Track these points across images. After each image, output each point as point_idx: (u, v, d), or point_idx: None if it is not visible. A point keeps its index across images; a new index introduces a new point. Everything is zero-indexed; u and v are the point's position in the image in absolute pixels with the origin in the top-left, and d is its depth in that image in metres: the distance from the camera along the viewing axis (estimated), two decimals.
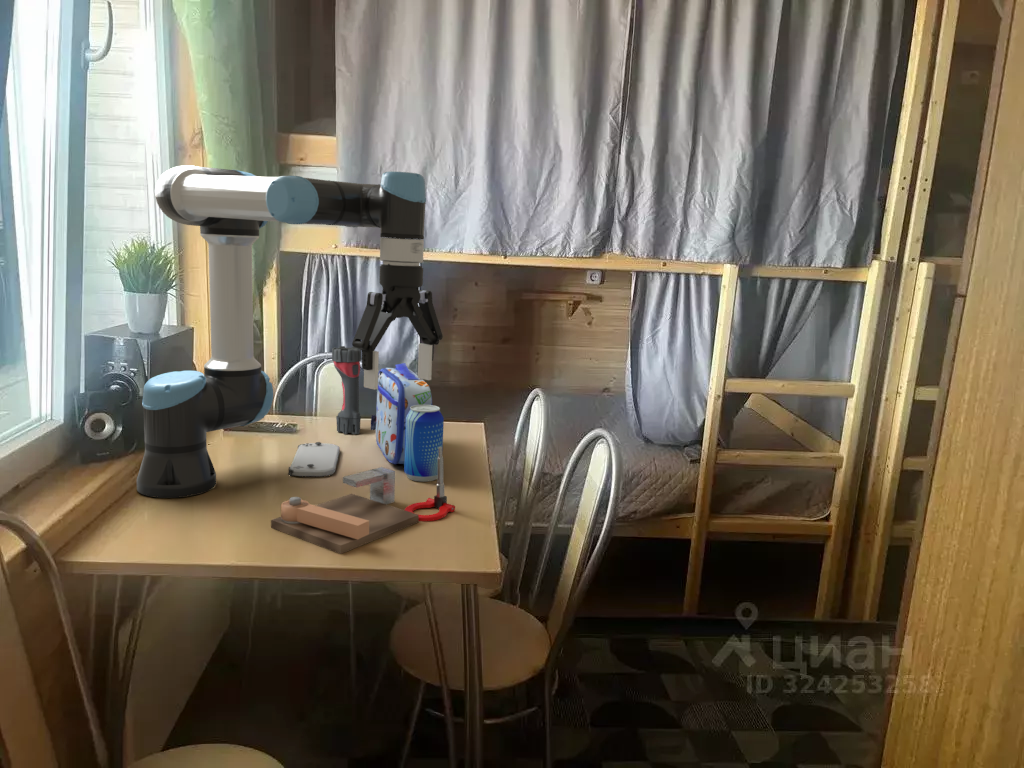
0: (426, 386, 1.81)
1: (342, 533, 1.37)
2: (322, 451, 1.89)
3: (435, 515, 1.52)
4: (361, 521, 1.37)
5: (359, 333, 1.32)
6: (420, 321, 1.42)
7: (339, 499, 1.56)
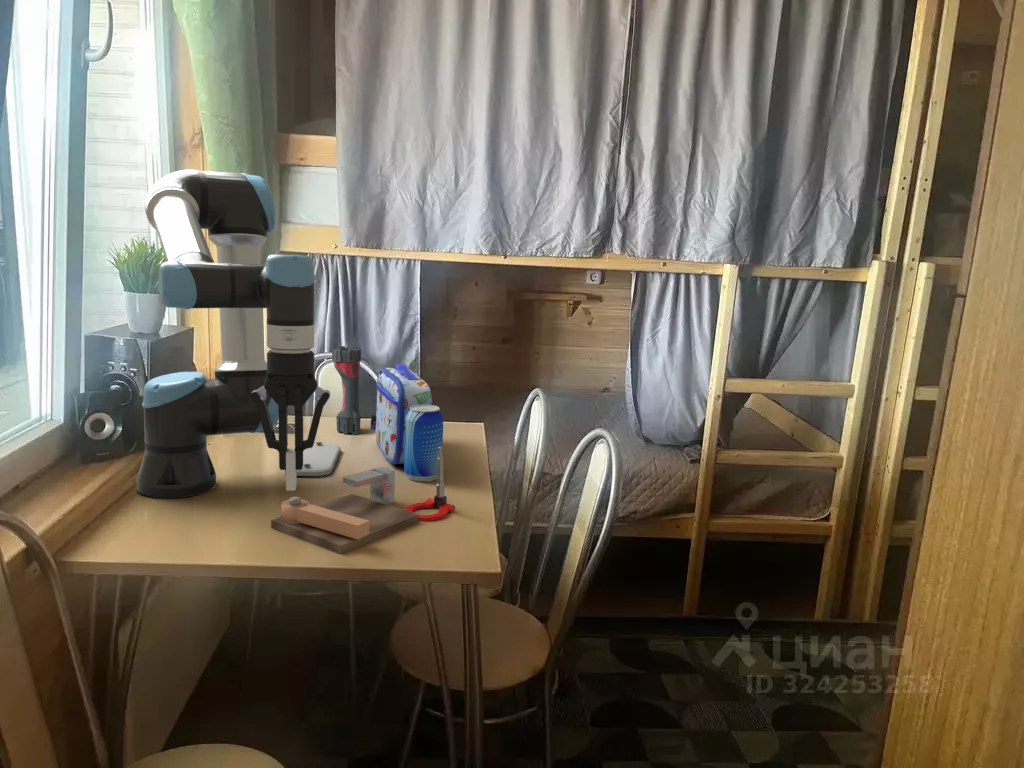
0: (426, 386, 1.81)
1: (342, 533, 1.37)
2: (322, 451, 1.88)
3: (435, 515, 1.52)
4: (361, 521, 1.37)
5: None
6: (296, 417, 1.30)
7: (339, 499, 1.56)
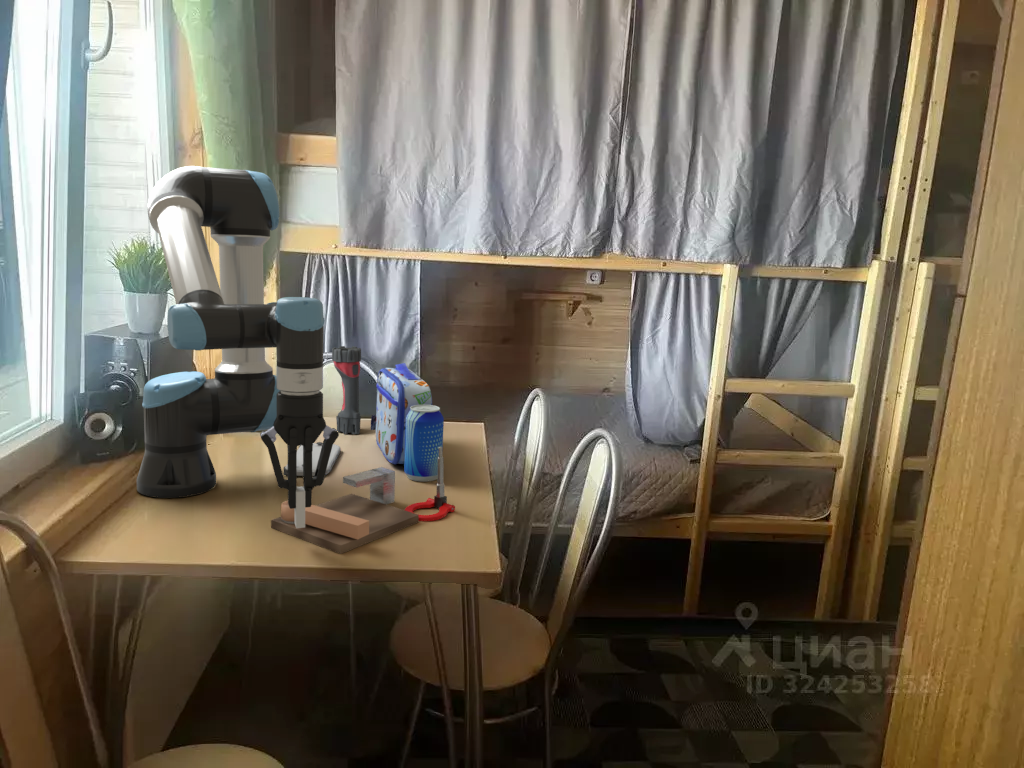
0: (426, 386, 1.81)
1: (342, 533, 1.37)
2: None
3: (435, 515, 1.52)
4: (361, 521, 1.37)
5: None
6: (306, 456, 1.33)
7: (339, 499, 1.56)
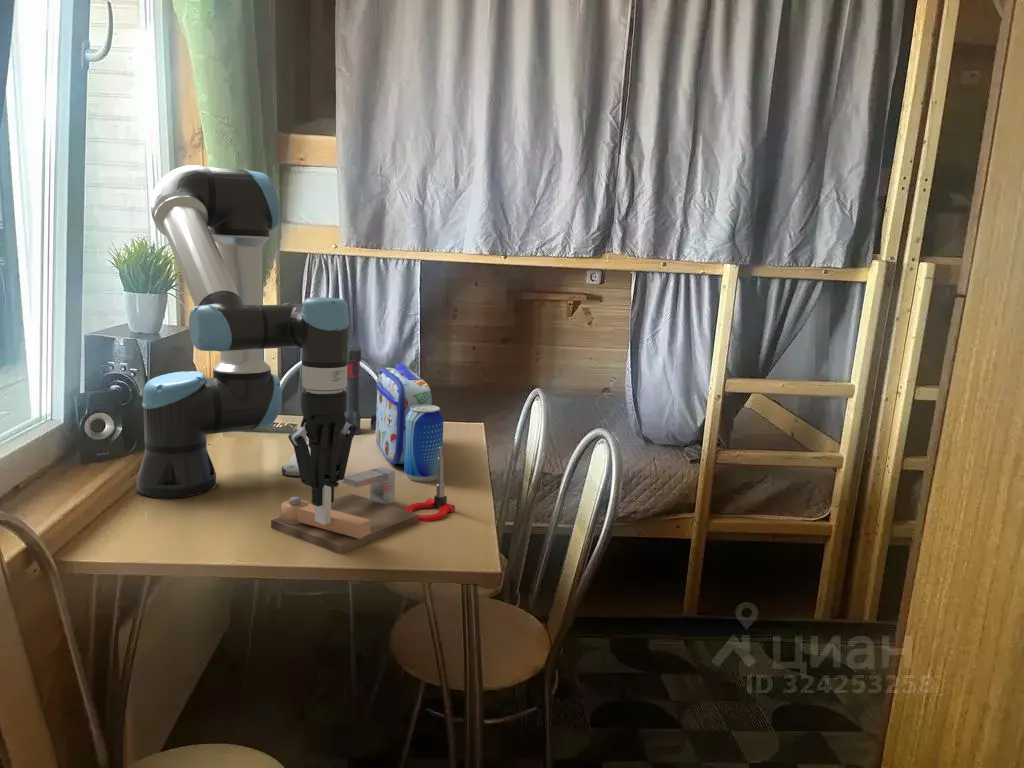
0: (426, 386, 1.81)
1: (343, 532, 1.37)
2: None
3: (435, 515, 1.52)
4: (362, 520, 1.37)
5: (302, 474, 1.33)
6: (332, 453, 1.36)
7: (339, 499, 1.56)
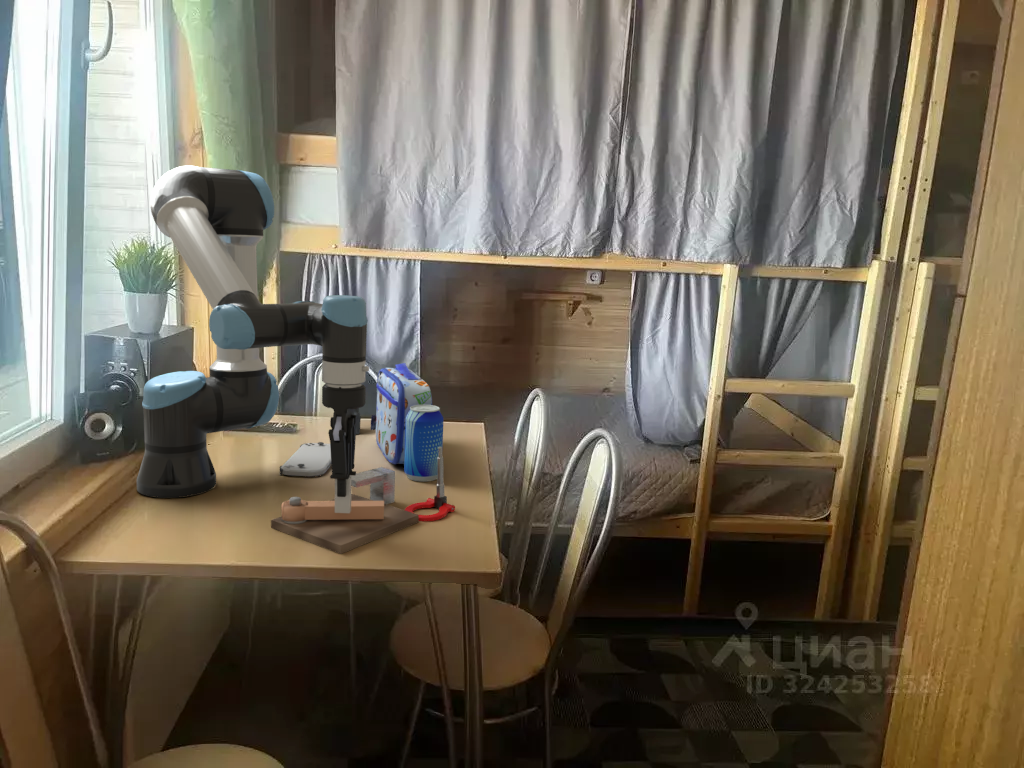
0: (426, 386, 1.81)
1: (365, 517, 1.45)
2: (322, 451, 1.88)
3: (435, 515, 1.52)
4: (379, 502, 1.47)
5: (336, 468, 1.37)
6: (351, 443, 1.42)
7: None
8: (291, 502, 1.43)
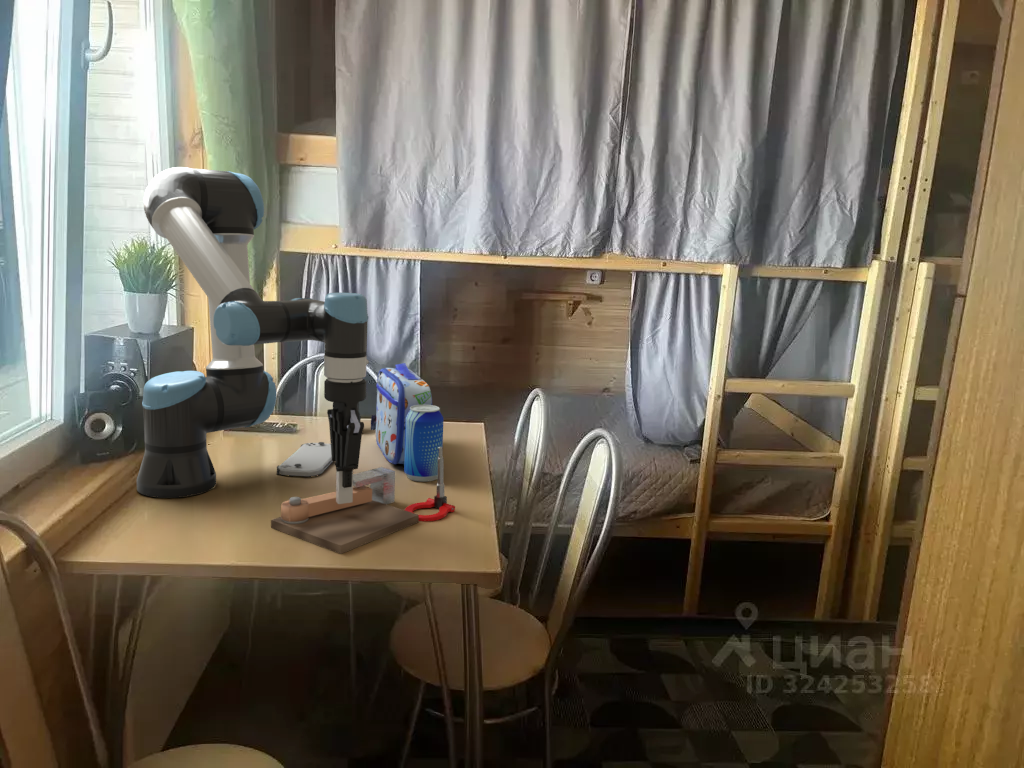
0: (426, 386, 1.81)
1: (357, 503, 1.52)
2: (321, 451, 1.88)
3: (435, 515, 1.52)
4: (363, 487, 1.55)
5: (350, 459, 1.43)
6: None
7: None
8: (294, 502, 1.43)
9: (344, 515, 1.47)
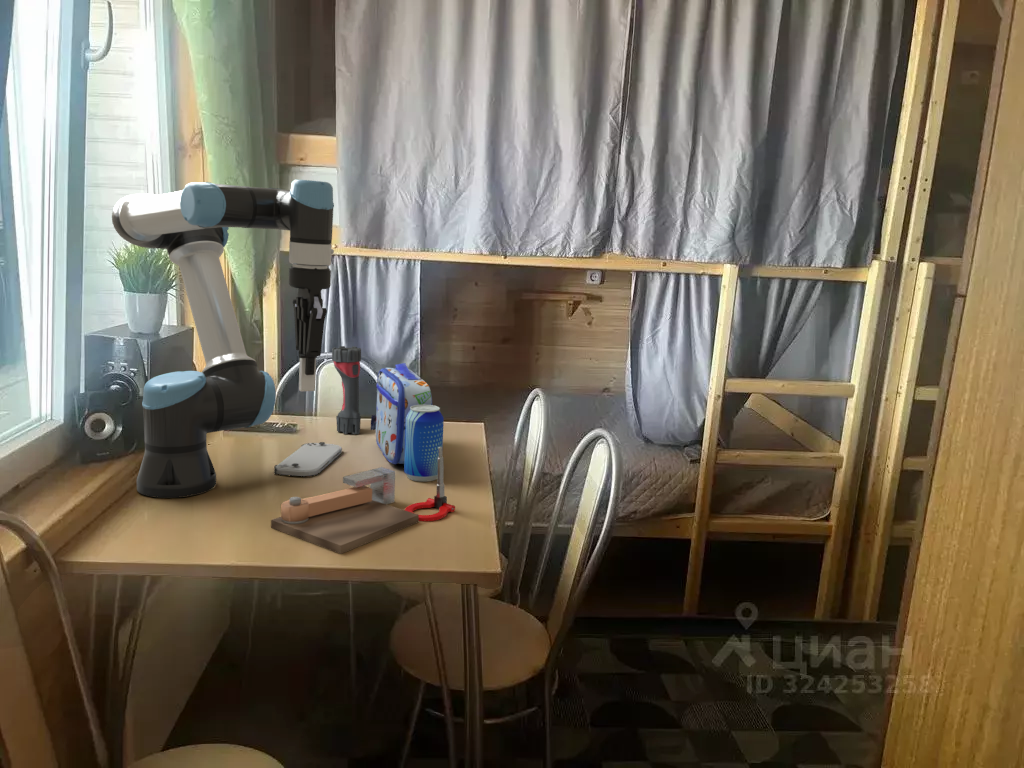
0: (426, 386, 1.81)
1: (357, 503, 1.52)
2: (321, 451, 1.88)
3: (435, 515, 1.52)
4: (363, 487, 1.55)
5: (313, 346, 1.45)
6: None
7: None
8: (294, 502, 1.43)
9: (344, 515, 1.47)
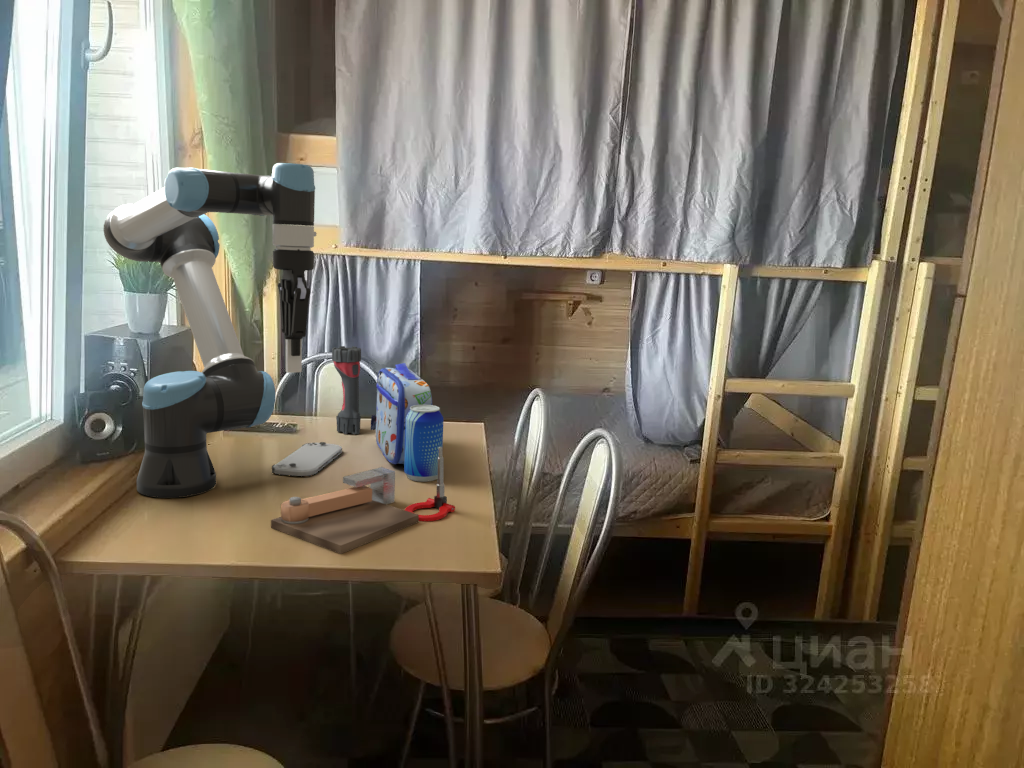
0: (426, 386, 1.81)
1: (357, 503, 1.52)
2: (321, 451, 1.88)
3: (435, 515, 1.52)
4: (363, 487, 1.55)
5: (298, 326, 1.48)
6: None
7: None
8: (294, 502, 1.43)
9: (344, 515, 1.47)
